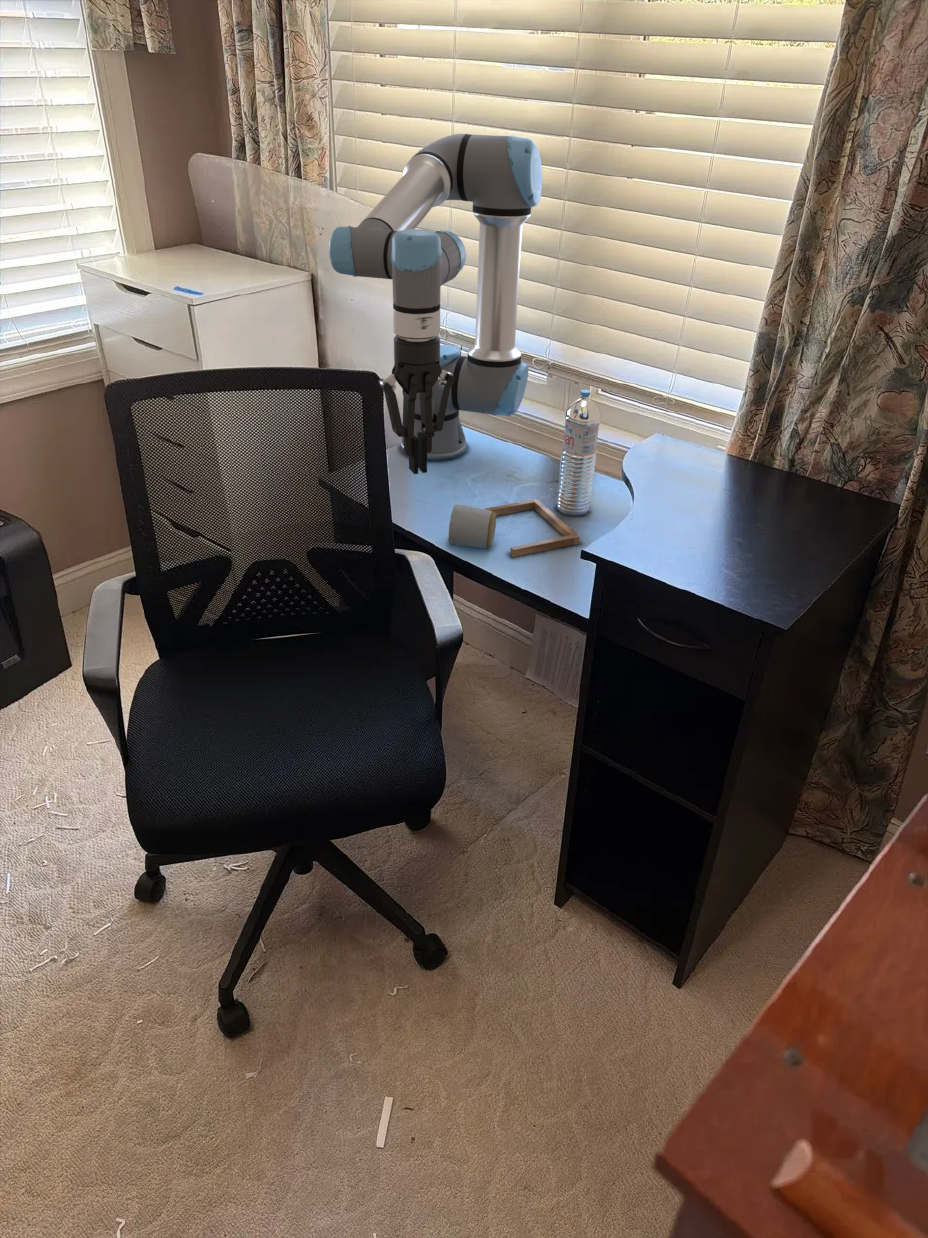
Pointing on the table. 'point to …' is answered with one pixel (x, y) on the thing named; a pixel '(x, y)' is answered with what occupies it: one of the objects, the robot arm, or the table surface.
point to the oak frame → (567, 532)
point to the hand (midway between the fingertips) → (417, 470)
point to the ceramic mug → (471, 526)
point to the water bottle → (578, 456)
